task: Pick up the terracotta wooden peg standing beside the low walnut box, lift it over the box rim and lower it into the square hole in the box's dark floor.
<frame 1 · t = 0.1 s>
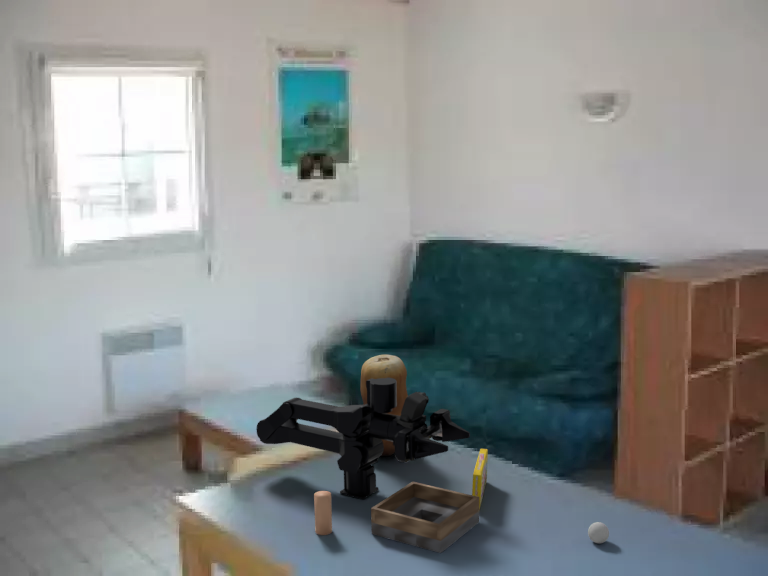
hand: (458, 441, 187), 17 cm above the table, tool horizontal, fingers open, 9 cm apart
butternut squash: (385, 454, 227), on the table
sports ball: (598, 543, 178), on the table
bore box: (426, 527, 185), on the table
peg: (323, 531, 185), on the table
candy box: (479, 497, 201), on the table
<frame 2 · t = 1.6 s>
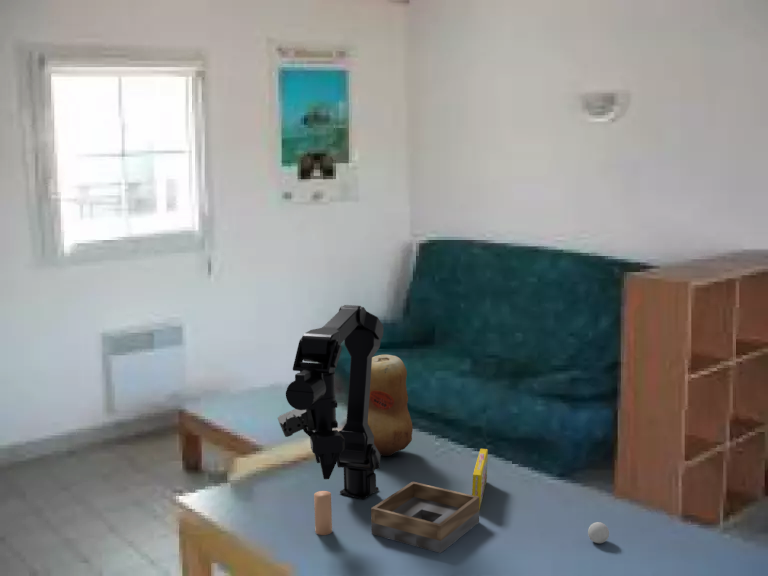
hand: (322, 470, 182), 13 cm above the table, tool pointing down, fingers open, 9 cm apart
nothing on the table moved.
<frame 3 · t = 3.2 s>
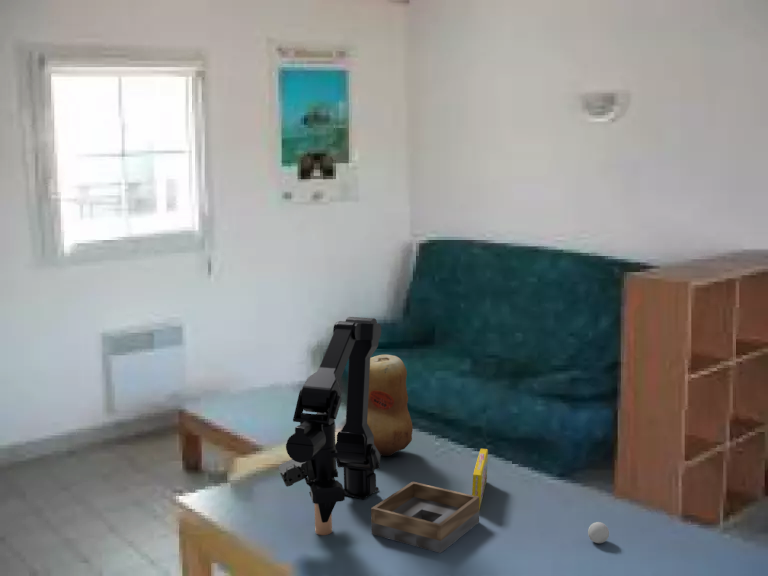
hand: (323, 518, 184), 3 cm above the table, tool pointing down, fingers closed on peg, 3 cm apart
peg: (323, 531, 185), on the table, touching gripper
everything else where it was.
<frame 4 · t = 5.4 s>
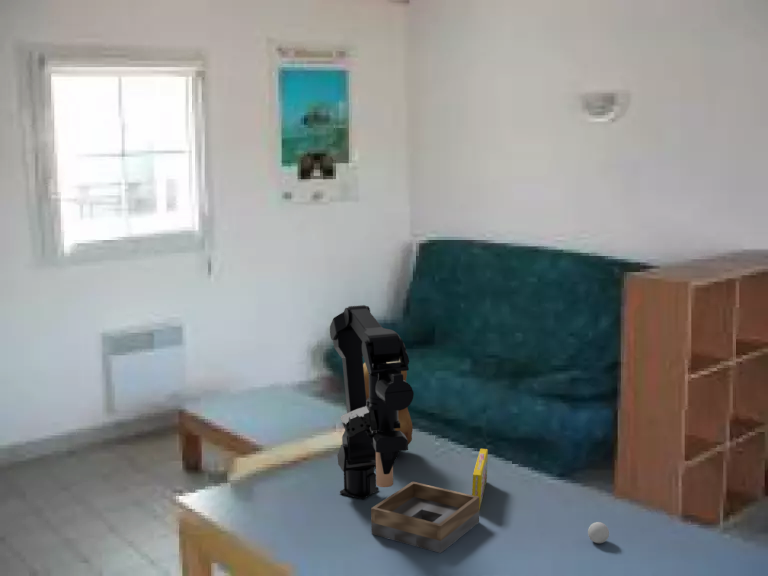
hand: (384, 470, 183), 13 cm above the table, tool pointing down, fingers closed on peg, 3 cm apart
peg: (384, 483, 183), point 10 cm above the table, touching gripper
everything else where it was.
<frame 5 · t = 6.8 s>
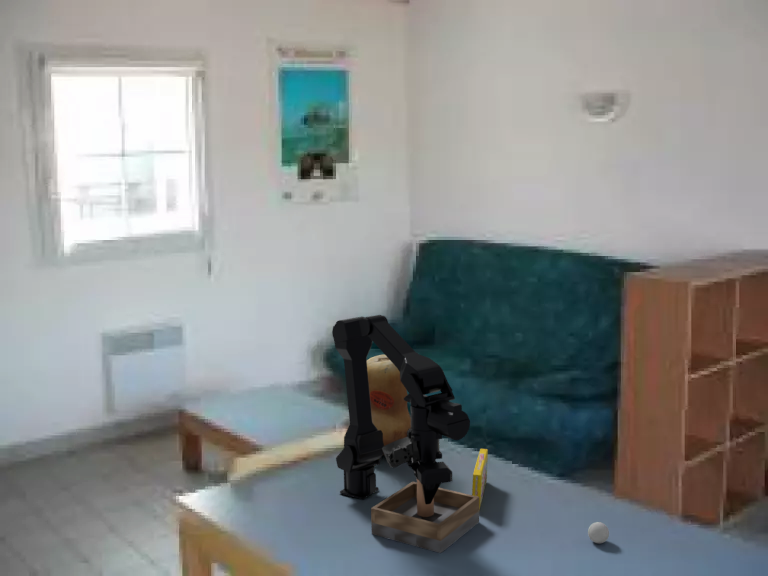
hand: (425, 500, 184), 6 cm above the table, tool pointing down, fingers closed on peg, 3 cm apart
peg: (425, 513, 185), point 3 cm above the table, touching gripper
everything else where it was.
when the fingers open (4 cm above the table, at t = 7.6 s): peg drops 1 cm, resting in bore box.
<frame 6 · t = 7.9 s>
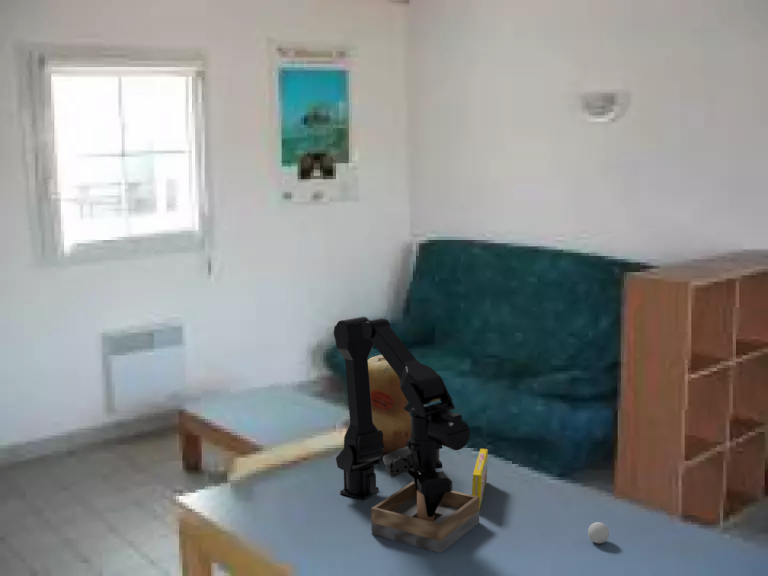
hand: (425, 509, 185), 4 cm above the table, tool pointing down, fingers open, 7 cm apart
peg: (425, 528, 185), resting in bore box
everything else where it was.
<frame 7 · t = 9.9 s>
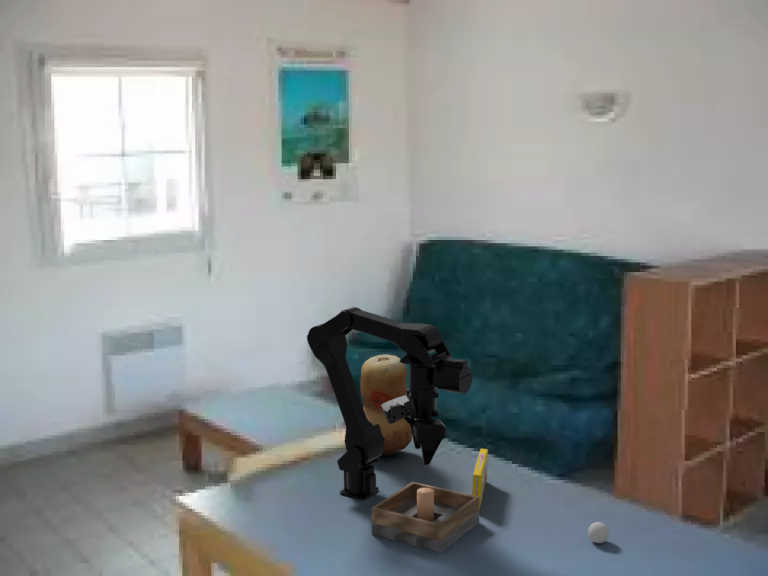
hand: (422, 456, 193), 12 cm above the table, tool pointing down, fingers open, 9 cm apart
nothing on the table moved.
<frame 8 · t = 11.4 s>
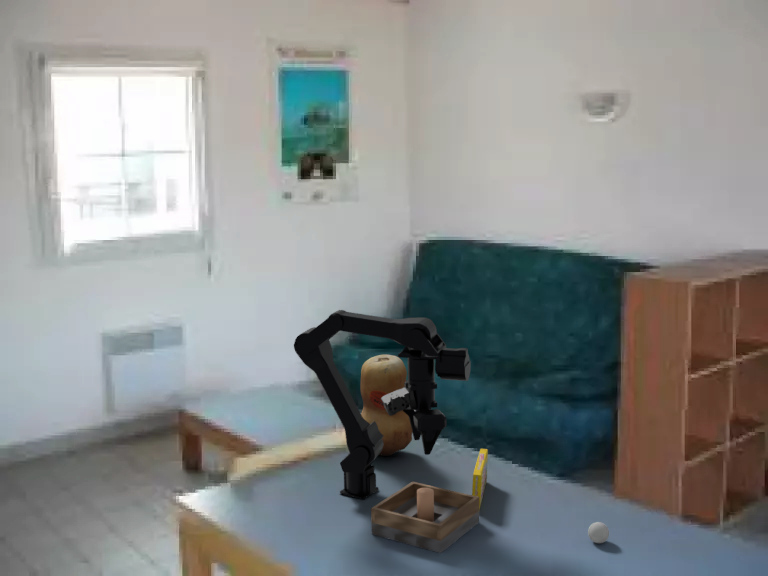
hand: (421, 447, 197), 12 cm above the table, tool pointing down, fingers open, 9 cm apart
nothing on the table moved.
at the end: peg 0.1 cm off-centre on the bore box, point 0.0 cm above the bore box's base; peg tilted 0°; the gripper is holding nothing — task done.
